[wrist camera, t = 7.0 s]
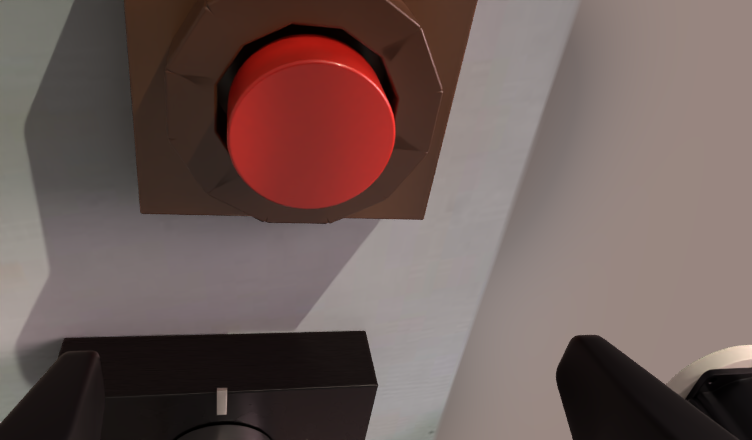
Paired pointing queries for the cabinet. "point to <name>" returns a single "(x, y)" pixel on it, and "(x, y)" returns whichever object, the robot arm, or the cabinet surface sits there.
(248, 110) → the button
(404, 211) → the button block
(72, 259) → the cabinet surface
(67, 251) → the cabinet surface
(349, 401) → the panel
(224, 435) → the knob
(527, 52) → the cabinet surface
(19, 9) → the cabinet surface
